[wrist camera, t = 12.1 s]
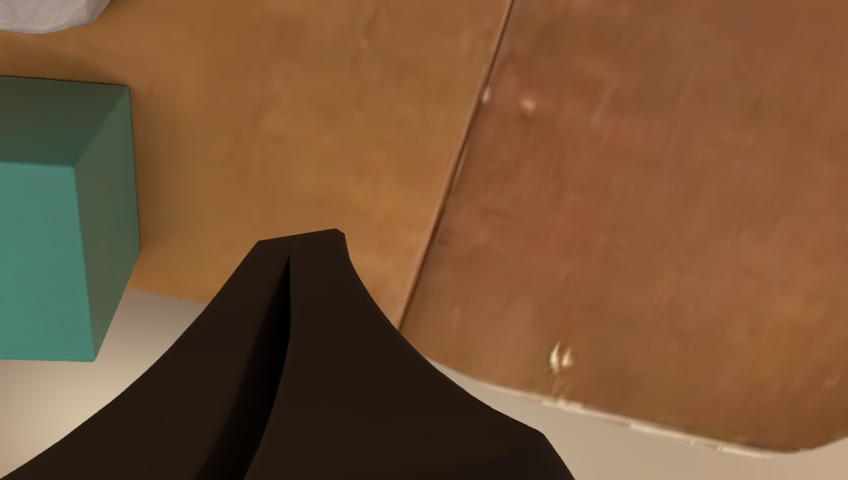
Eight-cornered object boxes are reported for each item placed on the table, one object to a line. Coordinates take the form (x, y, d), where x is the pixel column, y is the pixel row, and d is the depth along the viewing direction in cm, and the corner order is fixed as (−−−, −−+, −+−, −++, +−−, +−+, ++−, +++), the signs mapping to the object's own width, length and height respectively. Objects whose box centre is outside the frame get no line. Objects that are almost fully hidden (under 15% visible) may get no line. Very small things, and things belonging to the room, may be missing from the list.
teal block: (129, 85, 20) (74, 166, 15) (141, 252, 22) (95, 363, 18) (-83, 67, 19) (-205, 148, 15) (-48, 243, 21) (-143, 357, 17)
